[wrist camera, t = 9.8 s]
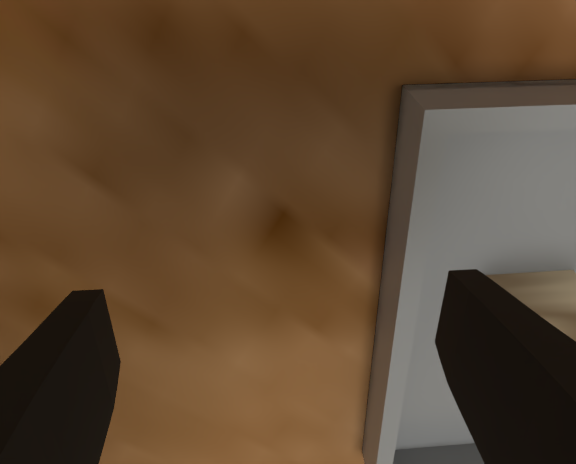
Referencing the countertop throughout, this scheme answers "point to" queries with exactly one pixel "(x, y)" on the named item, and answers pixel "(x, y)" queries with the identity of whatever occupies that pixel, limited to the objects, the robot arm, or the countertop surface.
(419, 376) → the tray
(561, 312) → the block
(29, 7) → the countertop surface
